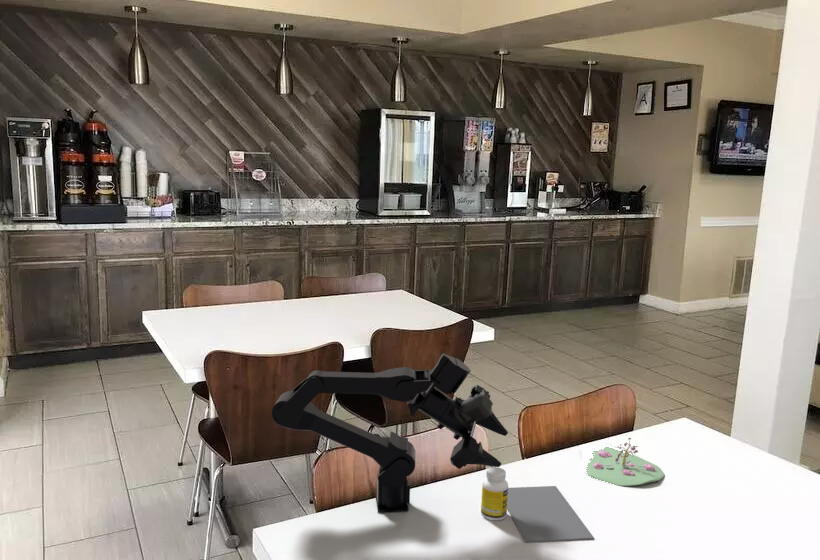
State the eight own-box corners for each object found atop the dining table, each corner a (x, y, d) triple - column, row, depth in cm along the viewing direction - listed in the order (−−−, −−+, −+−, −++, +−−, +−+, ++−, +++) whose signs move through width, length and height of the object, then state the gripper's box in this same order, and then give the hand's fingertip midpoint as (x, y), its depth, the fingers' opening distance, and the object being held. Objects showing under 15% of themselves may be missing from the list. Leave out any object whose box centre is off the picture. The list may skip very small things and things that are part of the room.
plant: (553, 450, 174) (555, 417, 173) (620, 442, 181) (623, 410, 179) (608, 494, 151) (610, 456, 149) (683, 483, 157) (686, 447, 156)
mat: (525, 542, 129) (525, 541, 129) (496, 489, 150) (496, 488, 150) (594, 539, 131) (594, 537, 131) (555, 487, 152) (555, 485, 152)
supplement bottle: (505, 523, 136) (508, 478, 135) (479, 519, 137) (481, 475, 136) (507, 510, 141) (509, 467, 140) (482, 507, 142) (484, 464, 141)
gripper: (454, 418, 126) (520, 462, 128) (472, 359, 142) (531, 399, 143) (424, 448, 133) (488, 490, 134) (445, 389, 148) (501, 426, 149)
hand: (503, 449), depth 140 cm, fingers open, 9 cm apart
